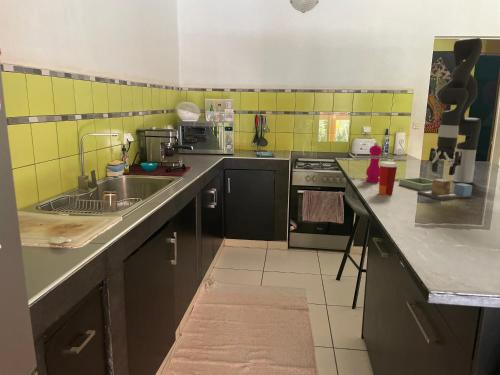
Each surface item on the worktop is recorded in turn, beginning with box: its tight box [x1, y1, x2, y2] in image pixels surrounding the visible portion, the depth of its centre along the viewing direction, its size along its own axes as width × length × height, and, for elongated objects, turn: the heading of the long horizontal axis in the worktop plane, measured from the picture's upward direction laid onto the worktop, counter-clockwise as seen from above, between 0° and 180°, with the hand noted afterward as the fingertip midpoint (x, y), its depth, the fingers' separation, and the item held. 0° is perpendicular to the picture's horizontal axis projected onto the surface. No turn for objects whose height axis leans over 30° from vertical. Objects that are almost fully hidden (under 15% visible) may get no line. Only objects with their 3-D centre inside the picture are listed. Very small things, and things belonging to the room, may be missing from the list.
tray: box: [398, 177, 433, 191], centre depth 189 cm, size 14×14×3 cm
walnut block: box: [431, 178, 452, 195], centre depth 171 cm, size 5×5×6 cm
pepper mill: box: [365, 142, 383, 183], centre depth 197 cm, size 7×7×20 cm
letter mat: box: [416, 190, 464, 201], centre depth 172 cm, size 13×13×1 cm
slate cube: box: [452, 182, 473, 198], centre depth 174 cm, size 5×5×5 cm
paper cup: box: [378, 161, 398, 196], centre depth 171 cm, size 8×8×14 cm
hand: (442, 173), depth 170 cm, fingers open, 8 cm apart
